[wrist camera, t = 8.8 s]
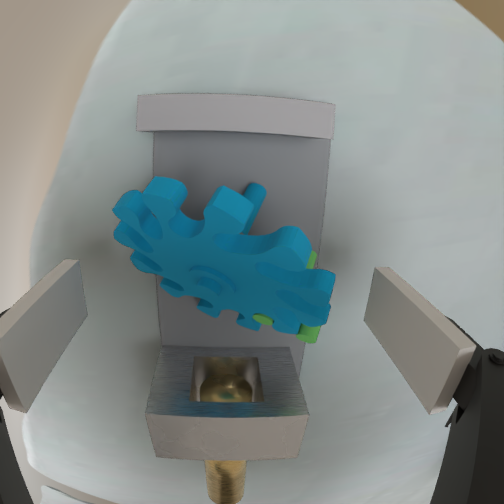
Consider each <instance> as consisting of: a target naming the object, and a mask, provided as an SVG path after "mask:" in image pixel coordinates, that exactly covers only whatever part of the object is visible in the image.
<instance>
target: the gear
mask: <svg viewBox="0 0 504 504" xmlns="http://www.w3.org/2000/svg"><path fill="white" fill-rule="evenodd" d="M187 195H188V191H187V188H186V187H185V185H184V184H183V183H182V182H180V181H178V180H175V179H172V178H167V177H159V176H155V177H154V178H153V180H152V181H151V182H150V184H149V185H148V186H147V188H146V189H145V190H144V192H143V193H141V192H139V191H138V190H132V191H128V192H126V193H125V194H124V195H123V196H122V197H121V198H120V200H119V201H118V202H117V204H116V205H115V207H114V208H113V209H112V211H113V212H114V214H115V215H116V216H117V217H118V218H119V219H120V220H121V222H120V223H119V224H118V226H117V227H116V229H115V230H114V239H116V240H117V241H118V242H119V243H121V244H123V245H125V246H127V247H130V248H132V249H135V250H134V252H133V254H132V255H131V257H130V259H131V261H132V263H133V264H134V265H135V267H136V268H137V269H139V270H140V271H142V272H145V273H153V274H157V275H160V276H163V279H162V281H161V283H160V286H161V288H163V289H164V290H165V291H166V292H167V293H169V294H170V295H171V296H173V297H177V298H179V297H181V296H185V295H187V296H193V297H198V298H201V299H200V301H199V303H198V305H197V309H199V310H200V311H202V312H204V313H206V314H207V315H209V316H212V317H214V318H218V317H219V315H220V312H221V310H226V309H230V310H234V311H237V312H239V315H238V317H237V320H236V323H237V324H238V325H240V326H243V327H245V328H248V329H251V330H255V331H259V329H260V327H261V324H265V325H272V327H273V329H275V330H276V331H278V332H281V333H287V334H296V338H298V339H299V340H301V341H303V342H307V343H315V342H316V340H317V337H318V334H319V330H320V327H321V325H323V324H326V322H327V318H328V315H329V311H330V308H331V306H330V304H329V301H330V297H331V294H332V290H333V287H334V283H335V276H336V275H335V274H333V273H332V272H329V271H327V270H323V269H313V267H314V264H315V260H316V257H317V254H316V253H315V252H314V251H312V246H311V243H310V241H309V239H308V238H307V237H306V235H305V234H304V233H303V231H302V230H301V229H300V228H299V227H296V226H283V227H281V228H279V229H278V230H277V231H275V232H273V233H270V234H266V235H259V236H257V235H248V233H249V231H250V228H251V226H252V224H253V222H254V220H255V218H256V216H257V214H258V212H259V209H260V207H261V205H262V203H263V201H264V199H265V197H266V195H267V191H266V189H265V188H264V187H263V186H262V185H260V184H257V183H251V184H249V185H248V187H247V189H246V191H245V193H244V194H243V196H242V195H241V194H239V193H237V192H236V191H234V190H232V189H230V188H228V187H226V186H224V185H223V186H220V187H218V188H217V189H216V191H215V192H214V194H213V196H212V197H211V199H210V201H209V202H208V204H207V206H206V207H205V209H204V212H203V214H204V218H205V219H203V220H201V221H197V220H193V219H190V218H188V217H187V216H186V215H184V214H183V213H182V212H181V210H180V207H181V205H182V204H183V202H184V201H185V199H186V198H187ZM151 211H152V213H153V214H154V215H155V216H156V218H157V219H156V218H155V217H154V216H153V214H152V213H151Z"/></svg>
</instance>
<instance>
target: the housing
mask: <svg viewBox="0 0 504 504" xmlns="http://www.w3.org/2000/svg"><path fill="white" fill-rule="evenodd" d="M334 120H335V104H331V103H324V102H317V101H309V100H300V99H291V98H281V97H270V96H257V95H240V94H213V93H172V94H153V95H138V103H137V123H136V131H144V132H154V149H153V178H154V177H155V176H159V177H167V178H172V179H175V180H178V181H180V182H182V183H183V184H184V185H185V187H186V188H187V191H188V195H187V198H186V199H185V201H184V202H183V204H182V205H181V207H180V210H181V212H182V213H183V214H184V215H186V216H187V217H188V218H190V219H193V220H197V221H201V220H203V219H205V218H204V214H203V212H204V209H205V207H206V206H207V204H208V202H209V201H210V199H211V197H212V196H213V194H214V192H215V191H216V189H217V188H218V187H220V186H223V185H224V186H226V187H228V188H230V189H232V190H234V191H236V192H237V193H239V194H241V195H242V196H243V194H244V193H245V191H246V189H247V187H248V185H249V184H251V183H257V184H260V185H262V186H263V187H264V188H265V189H266V191H267V195H266V197H265V199H264V201H263V203H262V205H261V207H260V209H259V212H258V214H257V216H256V218H255V220H254V222H253V224H252V226H251V228H250V231H249V233H248V235H257V236H259V235H266V234H270V233H273V232H275V231H277V230H278V229H279V228H281V227H283V226H296V227H299V228H300V229H301V230H302V231H303V233H304V234H305V235H306V237H307V238H308V239H309V241H310V243H311V246H312V251H314V252H315V253H316V254H317V257H316V260H315V264H314V267H313V269H317V264H318V257H319V249H320V241H321V233H322V225H323V216H324V207H325V198H326V188H327V177H328V167H329V155H330V143H331V139H333V134H334ZM153 216H154V217H155V218H156V216H155V215H154V214H153ZM156 219H157V218H156ZM162 279H163V276H160V275H157V274H156V285H157V299H158V311H159V322H160V333H161V342H162V345H175V346H198V347H290V351H291V354H292V358H293V361H294V364H295V368H296V371H297V375H298V378H299V375H300V369H301V364H302V359H303V353H304V347H305V342H303V341H301V340H299V339H298V338H296V334H287V333H281V332H278V331H276V330H275V329H273V327H272V325H265V324H261V327H260V329H259V331H255V330H251V329H248V328H245V327H243V326H240V325H238V324H237V323H236V320H237V317H238V315H239V312H237V311H234V310H230V309H226V310H221V312H220V315H219V317H218V318H214V317H212V316H209V315H207V314H206V313H204V312H202V311H200V310H199V309H197V305H198V303H199V301H200V299H201V298H198V297H193V296H187V295H185V296H181V297H179V298H177V297H173V296H171V295H170V294H169V293H167V292H166V291H165V290H164V289H163V288H161V286H160V283H161V281H162Z"/></svg>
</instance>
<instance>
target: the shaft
mask: <svg viewBox="0 0 504 504" xmlns="http://www.w3.org/2000/svg"><path fill="white" fill-rule="evenodd" d="M252 395H253V390H252V387H251V385H250V384H249V382H248V381H246V380H245V379H244V378H242V377H240V376H237V375H233V374H218V375H214V376H211V377H209V378H207V379H206V380H205V381H203V383H202V384H201V386H200V401H202V402H252ZM246 462H247V460H242V461H217V460H205V469H206V479H207V489H208V495H209V497H210V499H211V500H212V501H213V502H215V503H217V504H236V503H238V502H239V501H240V500H241V499H242V497H243V494H244V483H245V473H246Z"/></svg>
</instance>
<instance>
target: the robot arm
mask: <svg viewBox="0 0 504 504" xmlns="http://www.w3.org/2000/svg"><path fill="white" fill-rule="evenodd" d="M87 315H88V314H87V308H86V303H85V297H84V291H83V284H82V278H81V271H80V263H79V260H71V259H64V260H63V261H62V262H61V263H60V264H58V265H57V266H56V267H55V268H54V269H53V270H51V271H50V272H49V273H48V274H47V275H46V276H45V277H44V278H42V279H41V280H40V281H39V282H38V283H37V284H36V285H35V286H33V287H32V288H31V289H30V290H29V291H28V292H27V293H26V294H25V295H24V296H23V297H22V298H20V299H19V300H18V301H17V302H16V303H15V304H14V305H13V306H12V307H11V308H9V309H7V310H5V311H4V312H2V313H1V314H0V399H1V397H2V396H4V398H5V400H6V402H7V404H8V406H9V408H10V409H14V410H17V411H20V412H24V413H27V412H28V410H29V408H30V406H31V405H32V403H33V401H34V399H35V398H36V396H37V394H38V393H39V391H40V389H41V387H42V386H43V384H44V382H45V381H46V379H47V377H48V376H49V374H50V372H51V371H52V369H53V368H54V366H55V364H56V363H57V361H58V360H59V358H60V356H61V355H62V353H63V352H64V350H65V349H66V347H67V345H68V344H69V342H70V341H71V339H72V338H73V336H74V335H75V333H76V332H77V330H78V329H79V327H80V326H81V324H82V323H83V321H84V320H85V318H86V317H87ZM364 321H365V323H366V324H367V326H368V327H369V328H370V330H371V331H372V333H373V334H374V335H375V337H376V338H377V339H378V341H379V342H380V344H381V345H382V347H383V348H384V349H385V351H386V352H387V354H388V355H389V356H390V358H391V359H392V361H393V362H394V364H395V365H396V366H397V368H398V369H399V371H400V372H401V374H402V375H403V377H404V378H405V379H406V381H407V382H408V384H409V385H410V387H411V388H412V390H413V391H414V393H415V394H416V396H417V397H418V399H419V400H420V402H421V403H422V405H423V406H424V408H425V409H426V411H427V412H428V414H429V415H431V414H435V413H438V412H442V411H445V410H446V409H447V407H448V405H449V403H450V402H451V400H452V398H454V399H455V401H456V402H457V403H458V404H457V406H456V407H455V409H454V411H453V413H452V415H451V416H450V418H449V420H448V421H447V423H446V425H445V427H448V425H449V424H450V423H451V427H450V432H449V437H448V441H447V446H446V450H445V454H444V458H443V462H442V466H441V470H440V473H439V477H438V480H437V483H436V487H435V490H434V493H433V496H432V499H431V502H430V504H504V352H503V351H500V350H498V349H493V348H489V349H485V350H484V349H483V348H482V347H481V346H480V345H479V344H478V343H477V342H476V341H474V340H473V339H472V338H471V337H470V336H469V335H468V334H466V333H465V331H464V330H463V329H462V328H460V326H458V325H457V324H456V323H455V322H454V321H453V320H452V319H450V318H448V317H446V316H444V315H443V314H442V313H441V312H440V311H439V310H438V309H436V308H435V307H434V306H433V305H432V304H431V303H430V302H429V301H428V300H426V299H425V298H424V297H423V296H422V295H421V294H420V293H418V292H417V291H416V290H415V289H414V288H413V287H412V286H410V285H409V284H408V283H407V282H406V281H405V280H403V279H402V278H401V277H400V276H399V275H398V274H396V273H395V272H394V271H393V270H392V269H390V268H389V267H375V269H374V274H373V279H372V284H371V289H370V294H369V299H368V303H367V308H366V312H365V316H364ZM0 504H34V503H33V501H32V499H31V496H30V494H29V492H28V489H27V487H26V484H25V482H24V479H23V476H22V474H21V471H20V469H19V465H18V463H17V460H16V457H15V454H14V450H13V447H12V444H11V441H10V437H9V434H8V431H7V427H6V423H5V419H4V415H3V411H2V409H1V407H0Z"/></svg>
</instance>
